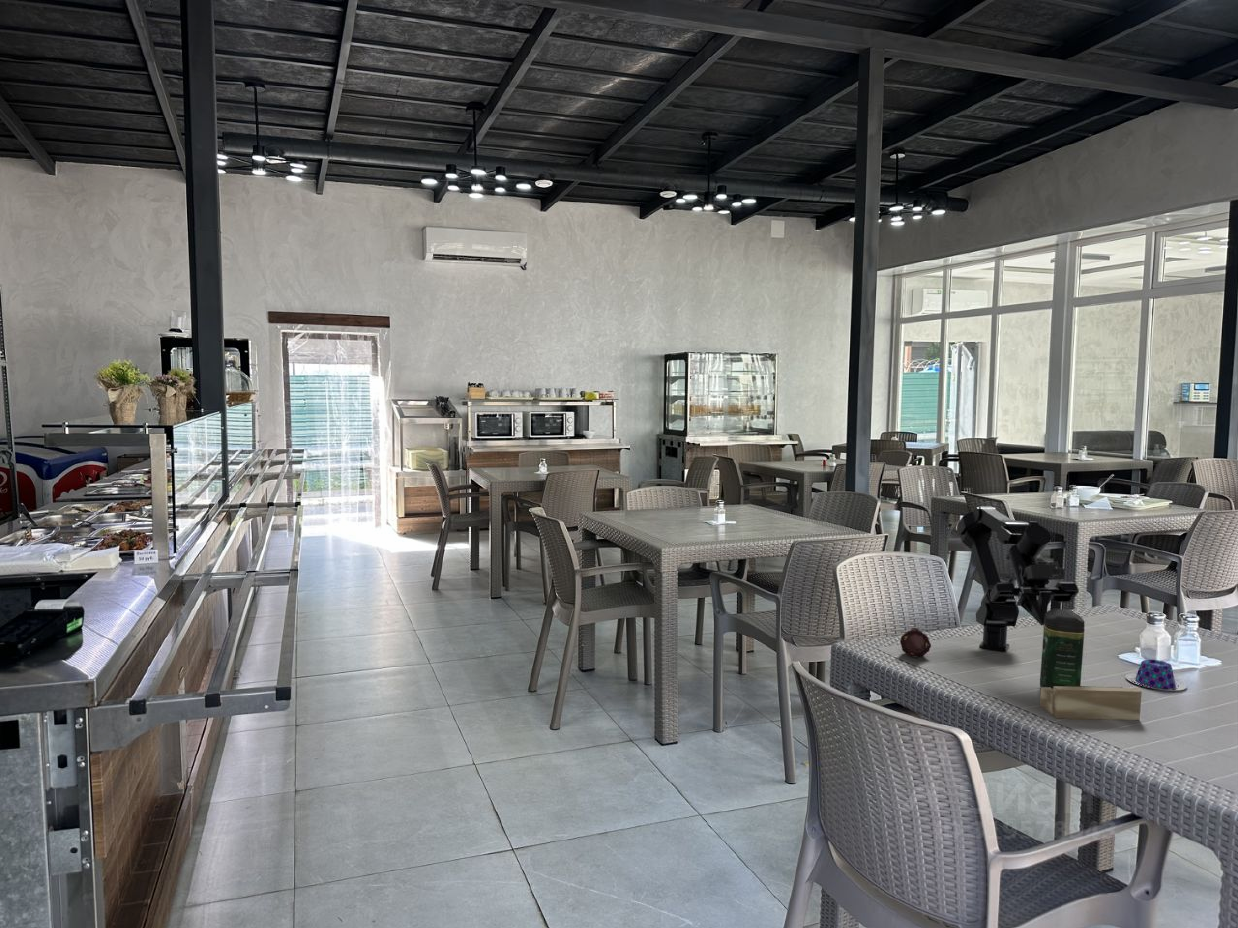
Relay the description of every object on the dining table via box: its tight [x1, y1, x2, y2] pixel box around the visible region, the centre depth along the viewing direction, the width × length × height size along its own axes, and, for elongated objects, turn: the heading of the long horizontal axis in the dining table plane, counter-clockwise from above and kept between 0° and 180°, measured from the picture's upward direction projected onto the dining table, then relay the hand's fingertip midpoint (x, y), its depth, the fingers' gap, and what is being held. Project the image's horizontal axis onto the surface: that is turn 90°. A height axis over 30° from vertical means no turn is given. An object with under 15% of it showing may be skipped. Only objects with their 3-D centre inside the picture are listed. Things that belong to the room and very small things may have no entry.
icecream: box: [899, 627, 932, 658], centre depth 211 cm, size 7×7×15 cm
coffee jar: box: [1039, 607, 1085, 689], centre depth 186 cm, size 10×8×19 cm
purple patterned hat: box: [1125, 658, 1187, 692], centre depth 194 cm, size 12×12×5 cm
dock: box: [1039, 685, 1142, 721], centre depth 175 cm, size 7×17×6 cm, turn 89°
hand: (1043, 624), depth 194 cm, fingers closed
